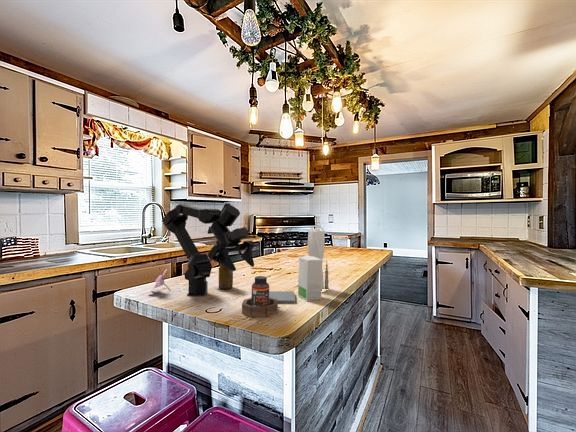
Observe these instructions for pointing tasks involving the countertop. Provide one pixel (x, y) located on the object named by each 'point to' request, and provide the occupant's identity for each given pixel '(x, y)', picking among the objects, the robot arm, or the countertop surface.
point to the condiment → (225, 279)
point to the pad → (283, 296)
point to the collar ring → (260, 308)
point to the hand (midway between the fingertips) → (244, 268)
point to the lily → (160, 281)
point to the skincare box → (310, 278)
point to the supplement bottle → (260, 292)
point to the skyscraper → (318, 249)
